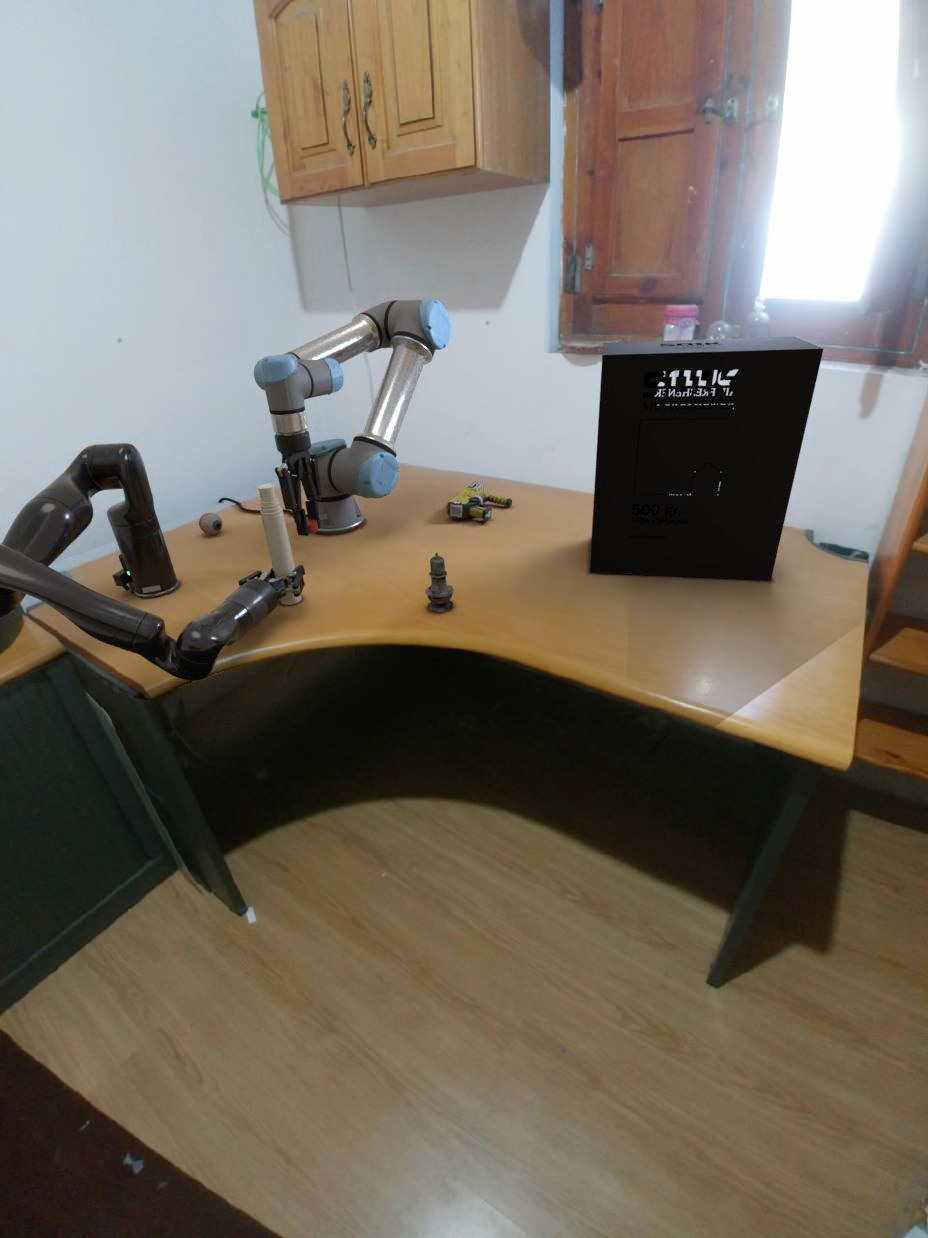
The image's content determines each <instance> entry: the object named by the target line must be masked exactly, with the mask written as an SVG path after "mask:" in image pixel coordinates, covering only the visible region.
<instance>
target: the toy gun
mask: <svg viewBox="0 0 928 1238" xmlns="http://www.w3.org/2000/svg"><path fill="white" fill-rule="evenodd" d="M487 502H488V503H493V504H496V505H500V506H504V507H506V508H510V507H511V506H512V505H513V499H512V498H509V497H504V496H500V495H499V496H498V495H494V494H492V493H490V494H489V495H488V496H487V495H486V492H485V483H484V482H483V481H480V482H479V481H477V480H474V482H473V483H471V484H470V485H468V486H467V487H465V488H464V489H462V491H460V492H459V493H458V494H456V496H454V497H453V498H452V499H451V500H449V501H448V502H447V505H446V514H447V516H448V517H451V518H452V519H455V520H458V519H459V518H460V519H467V518H471V517H475V518H479V519H482V522H484V523H485V522H487V521H488V520H491V518H492V512H493V507H492V506H485V505H484V504H486V503H487Z"/></svg>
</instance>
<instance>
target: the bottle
mask: <svg viewBox="0 0 928 1238" xmlns="http://www.w3.org/2000/svg"><path fill="white" fill-rule="evenodd" d="M257 491H258V493H259V497H260V501H259V503H260V504H259V506H260V508H259V510H261V511H260V512H261V513H260V519H261V522H262V526H263V531H264V535H265V540H266V544H267V548H268V553H269V557H270V561H271V565H272V567H273V570H274V574H275V578H277V577H279V576H281V575H283V574H285V575H287V574H289V573H291V572H292V571H293V570H294V569H295V568H296V565H295V561H294V555H293V551H292V546H291V542H290V536H289V531H288V527H287V522H286V517H285V512H283V507H282V505H281V502H280V501H279V498H278V496H277V493H276V486H275V484H274V483H263V484H260V485H258V486H257ZM290 582H292V578H290ZM279 601H280V604H282V605H284V606H291V605H296V604H298V603H300V602H301V601H302V594H301V595H300V596H299V597H294V594H286V596H285V597H282V598H280V599H279Z"/></svg>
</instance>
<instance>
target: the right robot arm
mask: <svg viewBox="0 0 928 1238" xmlns="http://www.w3.org/2000/svg"><path fill="white" fill-rule="evenodd" d="M450 321H451V320H450V316H449V313H448V311H447V308H446V307H445V306H444V304H443V303H441V302H440V301H439V300H436V299H428V298H422V299H400V300H399V299H394V300H388V301H385V302H382V303H379V304H377V305H375V306H372V307H370V308H368V309H367V310H364V311H361V312H360V313H357V314H356V315H354V316H353V317H352V319H351V321H350V322H349V323H347V324H345V325H342V326H340V327H339V328H336V329H334V330H331V331H330V332H328V333H325V334H324V335H321V336H319V337H317V338H315V339H312V340H311V341H309V342H306V343H305V344H303V345H300V346H298V347H296V348H294V349H292V350H290V351H288V352H287V351H286V352H285V353H283V354H277V355H276V354H275V355H274V354H273V355H267V356H264V357H262V358H261V359H258V361H256V363H255V365H254V368H253V378H254V381H255V383H256V385H257V386H258V387H259V388H260V389H261V390H262V391H264V392H265V396H266V401H267V407H268V410H269V413H270V420H271V425H272V431H273V432H274V433H275V434H274V437H273V438H274V442H275V448H276V450H277V452H279V453H280V454H281V464H280V466H279V467H277V466H276V467H275V468H274V473H275V474H276V477H277V478H278V483H279V487H280V491H281V497H282V501H283V505H284V509H283V508H282V509H283V512H284V513H287V514H290V515H291V516H293V520H294V523H295V526H296V532H297V535H298V536H301V537H303V536H304V537H309V536H310V534H309V530H308V524H307V519H314V520H317V524H318V531H317V532H315V533H314V534H317V535H323V536H324V535H325V536H327V535H329V536H331V535H339V534H340V535H341V534H345V533H350V532H353V531H355V530H357V529H359V528H361V527H362V526H363V525H364V523H365V519H364V514H363V512H362V510H361V508H360V505H359V504H358V501H357V500H356V498H355V496H357V497H362V498H363V499H364V498H365V499H383V498H384V497H386V496H388V495H389V494H390V493H391V492H392V491H394V489H395V487H396V486H397V483H398V480H399V477H400V471H399V469H400V465H399V461H398V460H397V455H398V453H397V451H396V448H395V444H396V441H397V439H398V436H399V433H400V430H401V428H402V425H403V423H404V420H405V416H406V414H407V411H408V409H409V406H410V403H411V400H412V399H413V395H414V392H415V390H416V387H417V384H418V383H419V379H420V377H421V373H422V370H423V368H424V366H425V365H429V364H430V363H431V362H432V361H433V358H434V356H435V353H436V350H437V351H441V350H443V349H445V348H446V347H447V346H448V345H449V342H450V339H451V332H452V331H451V330H452V329H451V322H450ZM381 349H392V353H391V356H390V358H389V360H388V363H387V366H386V368H385V372H384V374H383V377H382V378H381V379H382V380H381V382H380V384H379V387H378V389H377V392H376V395H375V398H374V400H373V403H372V406H371V409H370V410H369V414H368V417H367V419H366V422H365V425H364V427H363V430H362V433H361V432H360V433H359V434H356V435H354V437H353V439H352V442H351V444H350V447H348V446H347V445H348V443H346V440H345V439H344V438H331V439H326V440H320V441H317V442H313V443H312V442H311V437H310V436H311V435H310V432H309V431H308V429H309V423H308V417H307V412H306V407H305V400H308V399H312V398H318V397H322V396H326V395H327V396H329V395H331V394H334V393H336V392H339V391H340V390H341V389H342V387H343V386H344V382H345V378H344V377H345V376H344V371H343V368H342V366H341V364H343V363H345V362H347V361H349V360H351V359H353V358H355V357H356V356H358V355H361V354H362V353H373V352H376V351H377V350H381ZM302 489H303V491H304V494H305V497H306V501H305V502H304V504H305V508H303V503H302ZM223 501H228V502H231V503H233V504H235V505H237V506H238V508H239V509H240V510H241V511H243V512H247V513H252V514H261V512H260V511H261V509H250V508H246V507H243V505H242V503H241V502H240V501H237V500H235V499H232V498H230V497H221V498H219V500H218V504H221V503H222V502H223ZM306 513H307V514H306Z"/></svg>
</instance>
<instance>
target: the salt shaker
mask: <svg viewBox="0 0 928 1238" xmlns="http://www.w3.org/2000/svg"><path fill="white" fill-rule="evenodd" d="M429 566H430V572H429V573H428V575H429V577H430V581H431V583H430V584H431V585H430V586H428V587H426V589H425V590H424V592H425V595H426V596H427V599H428V600H429V601H430V602H428V603H427V604H428V606H427V608H428V609H429V610H430V611H432V612H435V613H443V612H448V611H450V610H451V609H453V607H454V603H453V601H452V600H451V599H452V597H453V593H454V591H455V589H454V587H453V586H452V585H450V584H448V583H447V575H448V572H447V571H446V565H445V559H444V558H443V556H440V555H439V553H438V552H435V554H434V556H432V557H431V558H430V559H429Z"/></svg>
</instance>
